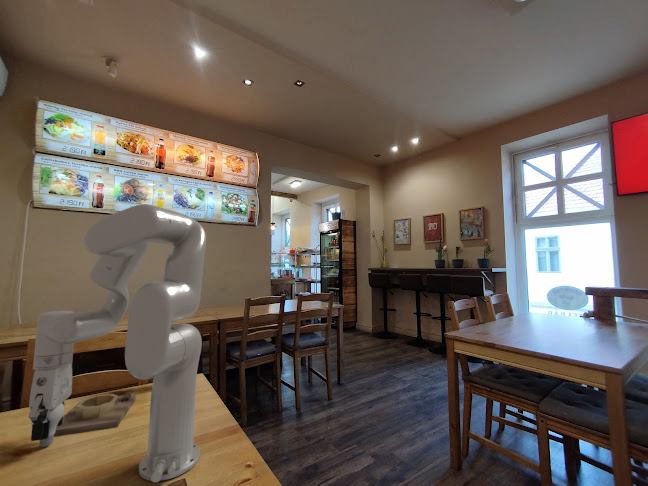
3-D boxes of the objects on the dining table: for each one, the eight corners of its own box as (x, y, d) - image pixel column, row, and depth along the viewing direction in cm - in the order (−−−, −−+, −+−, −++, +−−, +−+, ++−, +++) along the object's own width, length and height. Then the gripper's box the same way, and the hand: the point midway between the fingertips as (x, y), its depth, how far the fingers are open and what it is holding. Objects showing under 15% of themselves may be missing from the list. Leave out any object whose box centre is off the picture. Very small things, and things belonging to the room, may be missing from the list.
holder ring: (110, 415, 86) (110, 405, 86) (70, 421, 82) (71, 410, 83) (121, 401, 95) (121, 392, 95) (85, 406, 91) (86, 396, 92)
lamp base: (117, 426, 82) (118, 416, 83) (47, 436, 77) (48, 426, 78) (135, 399, 99) (136, 391, 100) (79, 406, 94) (79, 398, 94)
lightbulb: (41, 455, 70) (45, 408, 70) (22, 452, 71) (26, 405, 72) (68, 440, 76) (71, 397, 76) (50, 437, 77) (53, 395, 78)
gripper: (53, 368, 68) (46, 449, 67) (86, 349, 85) (80, 414, 83) (12, 372, 66) (3, 456, 64) (54, 351, 82) (48, 418, 80)
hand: (47, 431), depth 74 cm, fingers closed on lightbulb, 5 cm apart
